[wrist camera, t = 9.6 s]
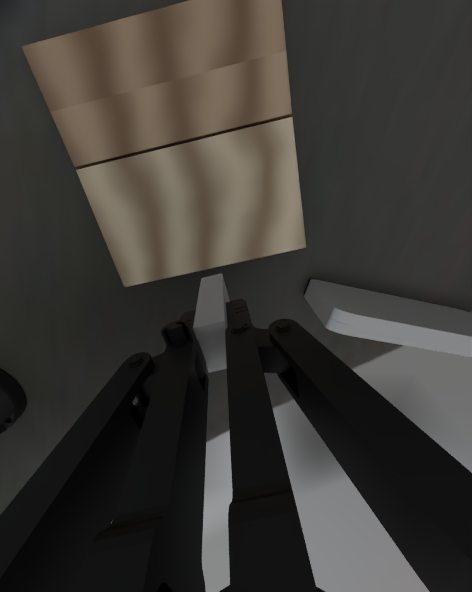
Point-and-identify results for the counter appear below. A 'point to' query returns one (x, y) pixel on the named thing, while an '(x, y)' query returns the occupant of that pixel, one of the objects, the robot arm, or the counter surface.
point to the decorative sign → (390, 318)
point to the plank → (199, 203)
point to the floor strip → (164, 77)
